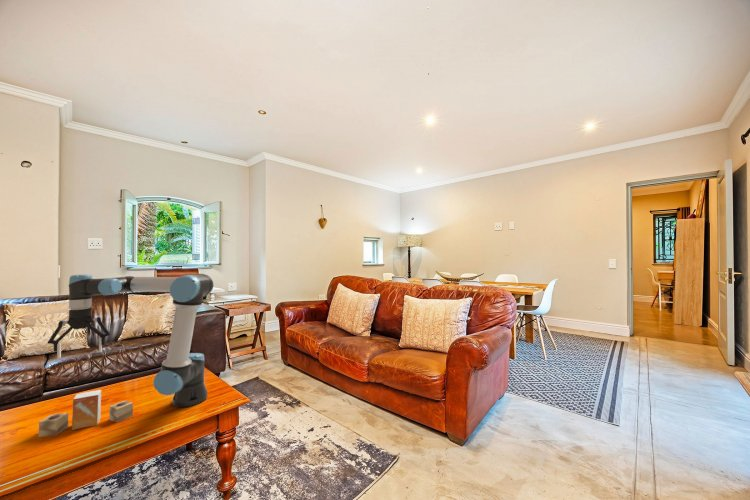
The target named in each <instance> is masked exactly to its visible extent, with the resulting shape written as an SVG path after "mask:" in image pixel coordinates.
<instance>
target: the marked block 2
mask: <svg viewBox="0 0 750 500" xmlns="http://www.w3.org/2000/svg"><path fill="white" fill-rule="evenodd" d="M133 408H134V403H133V402H131V401H128V400H122V401H120V402H116V403H115V404H112V405H110V406H109V409H108V410H109V412H108V413H109V415H108V416H109V421H112V422H114V423H119V422H122V421H124V420H127V419H129V418H131V417H133V411H134V410H133Z"/></svg>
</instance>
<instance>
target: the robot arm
mask: <svg viewBox="0 0 750 500" xmlns="http://www.w3.org/2000/svg"><path fill="white" fill-rule="evenodd" d="M68 281H69V282H68V292H69V293H68V296H69V297H68V308H69V310H68V320H63V319H62V320H60V321H58V324H57V327H56V329H55V330H54V332H53V333H52V335H51V337H50V338H49V339H48V340H47V344H51V345H53V352H57V353H56V356H57V357H56V360H59V359H60V360H61V357H62V342H60V341H61V340H63V338H65V337H66V336H67V335H68V334H69V333H70V332H71V331H72V330H73V329H74V330H80V329H82V330H83V329H89V330H90V331H92V332H93V333H95V334H96V335H98V336H99V338H98V353H102V352H103V345H105V343H106V338H107V337H109V336H110V335H111V333H110V331H109V329H108V328H107V327H106V326H105V324H104V322H103V321H102V317H101V316H98V317H93V309H92V306H93V296H110V295H113V296H114V295H116V294H118V293H119V294H120V293H133V292H136V293H137V292H139V293H140V292H141V293H147V292H149V293H154V292H155V293H169V294H170V295H169V296H171V298H172V304H173V305H174V306H175V311H174V315H173V322H172V329H171V333H170V339H169V344H168V350H167V355H166V358H165V359H164V360H163V361H162V363H161V366H160V367H161V368H160V371H158V372H157V374H156V375H155V376H154V378H153V381H152V382H153V387H154V389H155V390H156V391H157V392H158V393H159V395H163V396H172V395H173V398H172V406H174V407H175V408H187V407H192V405H193V406H196V405H198V404H197V403H199V404H201V403H203V402H205V401H206V400H207V399H206V398H208V397H207V396H208V390H207V387H206V384H205V354H204V353H200V352H190V351H191V346H192V339H193V335H194V329H195V328H194V327H195V323H196V319H197V318H196V317H197V311H198V308H199V307H200V306H202V304H203V298H204V297H207V296H209V295H210V293H211V292H212V291H213V288H214V282H213V281H214V280H213V279H212V277H210V276H209V275H208V274H205V273H194V274H185V275H181V276H133V275H132V276H131V275H129V276H120V277H108V278H93V275H92V274H73V275H70V276H69V280H68ZM93 322H95V323H97V325H98V326H99V327H100V328H101V330H102V331H103V332H102V331H100V330H99V329H98V328H97V327H95V326H94V325H93V324H92V323H93ZM66 324H68V325H69V326H70V327H69V328H68V329H67V328H66V330H65V331H64V332H63V333H62V334H61V335H60V336H59V337H58V338H56V337H57V335H58V334H59V333H60V331H61V330H62V328H63V327H64V326H66ZM55 339H56V340H55ZM205 399H206V400H205ZM202 401H203V402H202ZM200 402H201V403H200ZM195 404H196V405H195Z"/></svg>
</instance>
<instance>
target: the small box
mask: <svg viewBox="0 0 750 500" xmlns="http://www.w3.org/2000/svg"><path fill="white" fill-rule="evenodd" d="M101 402H102V389H97V390H90V391H85V392H81V393H76V395H75V396H74V397H73V400H72V418H71V420H72V421H71V431H74V430H79V429H83V428H88V427H92V426H93V427H94V426H97V425H98V424H99V422H100V420H101V414H102V413H101V411H102V410H101V409H102V403H101Z"/></svg>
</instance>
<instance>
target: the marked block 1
mask: <svg viewBox="0 0 750 500" xmlns="http://www.w3.org/2000/svg"><path fill="white" fill-rule="evenodd" d="M69 414H70V413H69V412H68V413H67V412H63V413H52V414H50V415H48V416H46V417H45V418H42V419H41V420H40V421H38V438H40V437H52V436H57V435H59V434H60V433H62V432H63V431H64V430H66V429H67V428H69Z"/></svg>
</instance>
